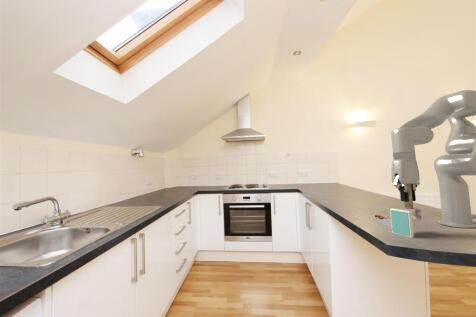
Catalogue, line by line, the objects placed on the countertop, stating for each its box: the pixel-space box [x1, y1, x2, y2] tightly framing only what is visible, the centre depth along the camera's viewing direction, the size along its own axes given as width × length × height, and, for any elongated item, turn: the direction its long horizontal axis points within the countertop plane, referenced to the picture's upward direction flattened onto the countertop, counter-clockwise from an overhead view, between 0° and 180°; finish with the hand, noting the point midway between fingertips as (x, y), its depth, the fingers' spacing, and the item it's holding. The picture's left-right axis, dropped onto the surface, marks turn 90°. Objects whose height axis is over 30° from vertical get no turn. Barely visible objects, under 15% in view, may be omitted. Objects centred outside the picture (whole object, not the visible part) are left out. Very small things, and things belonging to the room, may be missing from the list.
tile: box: [389, 207, 415, 239], centre depth 90 cm, size 2×8×10 cm, turn 15°
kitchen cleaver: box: [374, 214, 392, 229], centre depth 112 cm, size 24×1×10 cm
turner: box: [397, 184, 422, 221], centre depth 92 cm, size 3×7×16 cm, turn 14°
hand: (408, 200), depth 92 cm, fingers closed on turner, 2 cm apart
